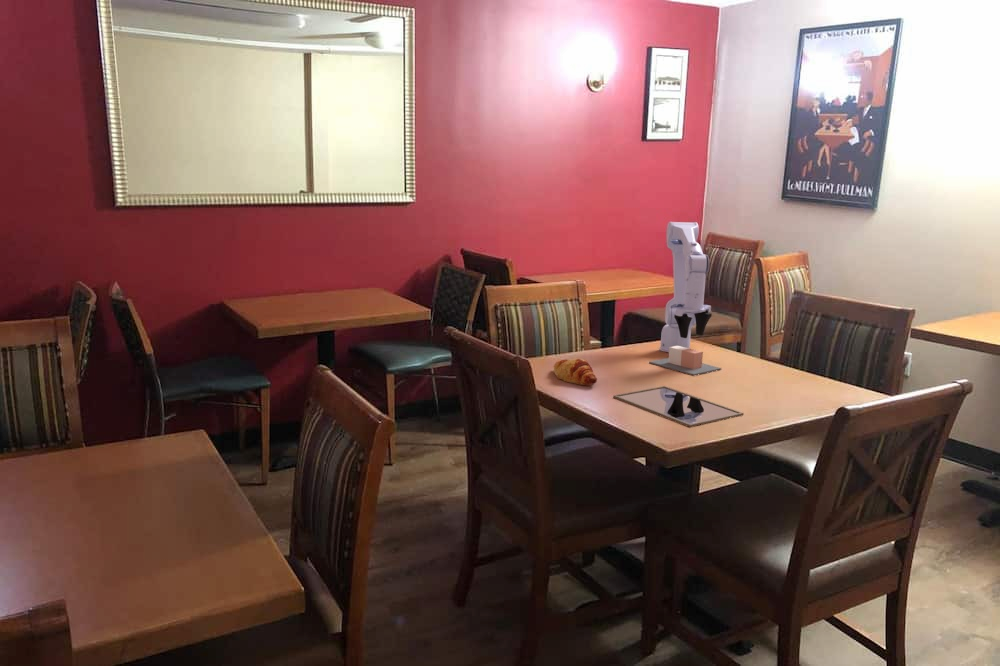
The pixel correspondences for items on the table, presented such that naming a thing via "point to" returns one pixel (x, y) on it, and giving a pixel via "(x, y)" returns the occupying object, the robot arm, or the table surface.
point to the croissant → (575, 371)
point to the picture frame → (678, 406)
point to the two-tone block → (685, 357)
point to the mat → (703, 369)
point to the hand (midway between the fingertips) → (691, 336)
